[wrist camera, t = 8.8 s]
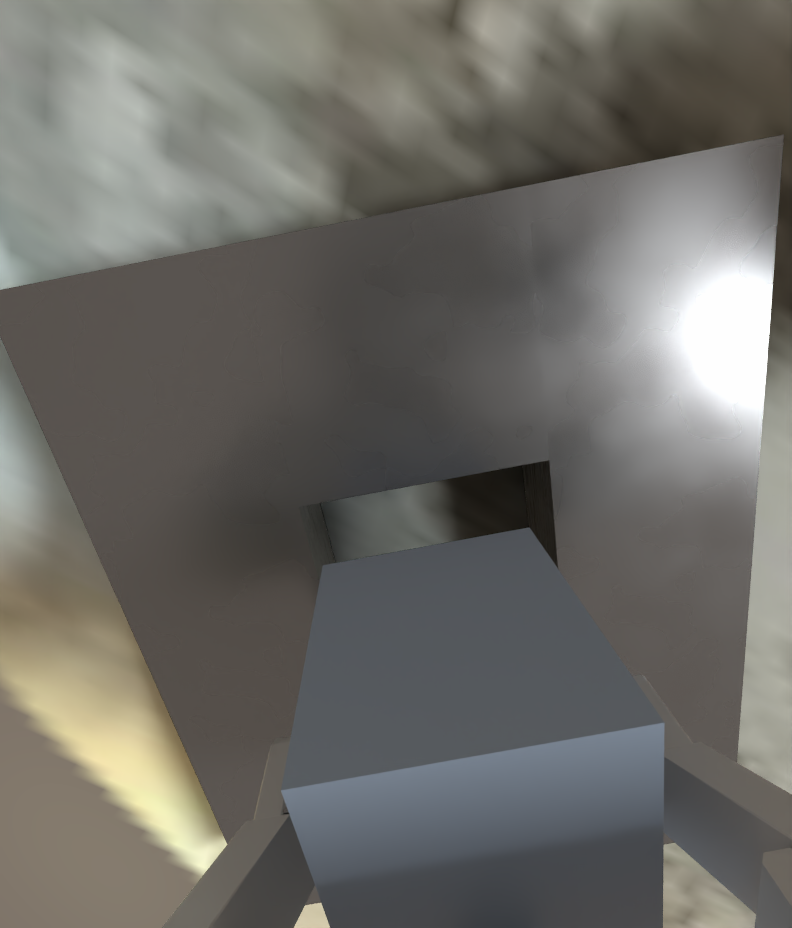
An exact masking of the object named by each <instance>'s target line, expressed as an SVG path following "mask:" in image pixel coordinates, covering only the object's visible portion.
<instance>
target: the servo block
mask: <svg viewBox="0 0 792 928" xmlns="http://www.w3.org/2000/svg"><path fill="white" fill-rule="evenodd" d="M281 792H282V795H283V798H284V801H285V803H286V806H287V809H288V812H289V814H290V817H291V820H292V823H293V826H294V828H295V831H296V834H297V837H298V839H299V842H300V845H301V848H302V850H303V853H304V856H305V859H306V861H307V864H308V867H309V870H310V872H311V875H312V878H313V881H314V884H315V886H316V889H317V892H318V895H319V897H320V900H321V903H322V906H323V908H324V911H325V914H326V917H327V919H328V922H329V925H330V928H663V834H664V721H663V720H662V718H661V717H660V715H659V714H658V713H657V711H656V710H655V708H654V707H653V705H652V704H651V702H650V701H649V700H648V698H647V697H646V695H645V694H644V692H643V691H642V689H641V688H640V687H639V685H638V684H637V682H636V681H635V679H634V678H633V676H632V675H631V674H630V672H629V671H628V669H627V668H626V666H625V665H624V663H623V662H622V661H621V659H620V658H619V656H618V655H617V653H616V652H615V650H614V649H613V647H612V646H611V645H610V643H609V642H608V640H607V639H606V637H605V636H604V634H603V633H602V632H601V630H600V629H599V627H598V626H597V624H596V623H595V621H594V620H593V619H592V617H591V616H590V614H589V613H588V611H587V610H586V608H585V607H584V606H583V604H582V603H581V601H580V600H579V598H578V597H577V595H576V594H575V593H574V591H573V590H572V588H571V587H570V585H569V584H568V582H567V581H566V580H565V578H564V577H563V575H562V574H561V572H560V571H559V569H558V568H557V567H556V565H555V564H554V562H553V561H552V559H551V558H550V556H549V555H548V553H547V552H546V551H545V549H544V548H543V546H542V545H541V543H540V542H539V540H538V539H537V538H536V536H535V535H534V533H533V532H532V530H531V529H530V527H529V528H523V529H518V530H512V531H507V532H502V533H496V534H491V535H485V536H480V537H474V538H469V539H463V540H458V541H452V542H447V543H442V544H436V545H431V546H425V547H420V548H414V549H409V550H403V551H398V552H392V553H387V554H382V555H376V556H371V557H365V558H360V559H354V560H349V561H343V562H338V563H332V564H327V565H323V566H322V571H321V577H320V582H319V588H318V593H317V598H316V604H315V609H314V614H313V620H312V625H311V631H310V636H309V641H308V647H307V652H306V658H305V663H304V668H303V674H302V679H301V685H300V690H299V695H298V701H297V706H296V712H295V717H294V722H293V728H292V733H291V738H290V744H289V749H288V755H287V760H286V765H285V771H284V776H283V782H282V787H281Z"/></svg>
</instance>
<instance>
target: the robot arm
mask: <svg viewBox="0 0 792 928" xmlns="http://www.w3.org/2000/svg"><path fill="white" fill-rule="evenodd" d="M633 678H634V679H635V681H636V682H637V684H638V685H639V687H640V688H641V689H642V691H643V692H644V694H645V695H646V697H647V698H648V700H649V701H650V702H651V704H652V705H653V707H654V708H655V710H656V711H657V713H658V714H659V715H660V717H661V718H662V720H663V721H664V833H665V834H666V835H667V836H668V837H669V838H670V839H672V840H673V841H674V842H675V843H676V844H677V845H678V846H680V847H681V848H682V849H683V850H684V851H685V852H686V853H687V854H689V855H690V856H691V857H692V858H693V859H694V860H695V861H697V862H698V863H699V864H700V865H701V866H702V867H703V868H704V869H706V870H707V871H708V872H709V873H710V874H711V875H712V876H714V877H715V878H716V879H717V880H718V881H719V882H720V883H721V884H723V885H724V886H725V887H726V888H727V889H728V890H729V891H730V892H732V893H733V894H734V895H735V896H736V897H737V898H738V899H740V900H741V901H742V902H743V903H744V904H745V905H746V906H747V907H749V908H750V909H751V910H752V911H753V912H754V913H755V914H756V921H755V928H792V795H791V794H790V793H788V792H786V791H785V790H783V789H781V788H779V787H778V786H776V785H774V784H773V783H771V782H769V781H767V780H766V779H764V778H762V777H760V776H759V775H757V774H755V773H754V772H752V771H750V770H748V769H747V768H745V767H743V766H741V765H740V764H738V763H736V762H735V761H733V760H731V759H729V758H728V757H726V756H724V755H723V754H721V753H719V752H717V751H716V750H714V749H712V748H710V747H709V746H707V745H705V744H704V743H702V742H697V743H693V742H692V741H691V740H690V738H689V737H688V736H687V734H686V733H685V731H684V730H683V729H682V727H681V726H680V725H679V723H678V722H677V720H676V719H675V718H674V716H673V715H672V714H671V712H670V711H669V709H668V708H667V707H666V705H665V704H664V703H663V701H662V700H661V699H660V697H659V696H658V694H657V693H656V692H655V690H654V689H653V688H652V686H651V685H650V683H649V682H648V681H647V679H646V678H645V677H643V676H642V675H636V676H633ZM290 738H291V737H284V738H278V739H275V740H274V741H273V743H272V745H271V747H270V751H269V755H268V759H267V763H266V768H265V772H264V776H263V781H262V785H261V789H260V794H259V798H258V802H257V806H256V811H255V815H254V819H253V820H249V821H246V822H245V823H244V824H243V826H242V827H241V828H240V829H239V831H238V832H237V833H236V834H235V836H234V837H233V838H232V839H231V841H230V842H229V843H228V845H227V846H226V847H225V848H224V850H223V851H222V852H221V853H220V855H219V856H218V857H217V858H216V860H215V861H214V862H213V864H212V865H211V866H210V867H209V869H208V870H207V871H206V872H205V874H204V875H203V876H202V878H201V879H200V880H199V881H198V883H197V884H196V885H195V886H194V888H193V889H192V890H191V891H190V893H189V894H188V895H187V897H186V898H185V899H184V900H183V902H182V903H181V904H180V905H179V907H178V908H177V909H176V911H175V912H174V913H173V914H172V916H171V917H170V918H169V919H168V921H167V922H166V923H165V924H164V926H163V927H162V928H294V926H295V924H296V922H297V920H298V918H299V916H300V914H301V912H302V910H303V908H304V906H305V904H306V902H307V900H308V898H309V896H310V894H311V892H312V890H313V888H314V886H315V884H314V881H313V878H312V875H311V872H310V870H309V867H308V864H307V861H306V859H305V856H304V853H303V850H302V848H301V845H300V842H299V839H298V837H297V834H296V831H295V828H294V826H293V823H292V820H291V817H290V814H289V812H288V809H287V806H286V803H285V801H284V798H283V795H282V792H281V787H282V782H283V776H284V771H285V765H286V760H287V755H288V749H289V744H290Z"/></svg>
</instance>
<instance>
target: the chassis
mask: <svg viewBox="0 0 792 928" xmlns="http://www.w3.org/2000/svg"><path fill="white" fill-rule="evenodd" d="M783 142H784V135H778V136H773V137H768V138H763V139H758V140H753V141H748V142H743V143H738V144H733V145H728V146H723V147H718V148H713V149H708V150H703V151H698V152H693V153H688V154H683V155H678V156H673V157H668V158H663V159H658V160H653V161H648V162H643V163H638V164H633V165H627V166H622V167H617V168H612V169H607V170H602V171H597V172H592V173H587V174H582V175H577V176H572V177H567V178H562V179H557V180H552V181H547V182H542V183H537V184H532V185H527V186H522V187H517V188H512V189H507V190H502V191H497V192H492V193H487V194H482V195H476V196H471V197H466V198H461V199H456V200H451V201H446V202H441V203H436V204H431V205H426V206H421V207H416V208H411V209H406V210H401V211H396V212H391V213H386V214H381V215H376V216H371V217H366V218H361V219H356V220H351V221H346V222H341V223H336V224H331V225H325V226H320V227H315V228H310V229H305V230H300V231H295V232H290V233H285V234H280V235H275V236H270V237H265V238H260V239H255V240H250V241H245V242H240V243H235V244H230V245H225V246H220V247H215V248H210V249H205V250H200V251H195V252H190V253H185V254H180V255H174V256H169V257H164V258H159V259H154V260H149V261H144V262H139V263H134V264H129V265H124V266H119V267H114V268H109V269H104V270H99V271H94V272H89V273H84V274H79V275H74V276H69V277H64V278H59V279H54V280H49V281H44V282H39V283H34V284H29V285H23V286H18V287H13V288H8V289H3V290H0V337H1V339H2V341H3V343H4V346H5V348H6V350H7V352H8V355H9V357H10V359H11V361H12V363H13V366H14V368H15V370H16V372H17V375H18V377H19V379H20V381H21V384H22V386H23V388H24V390H25V393H26V395H27V397H28V399H29V402H30V404H31V406H32V408H33V410H34V413H35V415H36V417H37V419H38V422H39V424H40V426H41V428H42V431H43V433H44V435H45V437H46V440H47V442H48V444H49V446H50V448H51V451H52V453H53V455H54V457H55V460H56V462H57V464H58V466H59V469H60V471H61V473H62V475H63V478H64V480H65V482H66V484H67V486H68V489H69V491H70V493H71V495H72V498H73V500H74V502H75V504H76V507H77V509H78V511H79V513H80V516H81V518H82V520H83V522H84V524H85V527H86V529H87V531H88V533H89V536H90V538H91V540H92V542H93V545H94V547H95V549H96V551H97V554H98V556H99V558H100V560H101V563H102V565H103V567H104V569H105V571H106V574H107V576H108V578H109V580H110V583H111V585H112V587H113V589H114V592H115V594H116V596H117V598H118V601H119V603H120V605H121V607H122V609H123V612H124V614H125V616H126V618H127V621H128V623H129V625H130V627H131V630H132V632H133V634H134V636H135V639H136V641H137V643H138V645H139V647H140V650H141V652H142V654H143V656H144V659H145V661H146V663H147V665H148V668H149V670H150V672H151V674H152V677H153V679H154V681H155V683H156V685H157V688H158V690H159V692H160V694H161V697H162V699H163V701H164V703H165V706H166V708H167V710H168V712H169V715H170V717H171V719H172V721H173V724H174V726H175V728H176V730H177V732H178V735H179V737H180V739H181V741H182V744H183V746H184V748H185V750H186V753H187V755H188V757H189V759H190V762H191V764H192V766H193V768H194V770H195V773H196V775H197V777H198V779H199V782H200V784H201V786H202V788H203V791H204V793H205V795H206V797H207V800H208V802H209V804H210V806H211V808H212V811H213V813H214V815H215V817H216V820H217V822H218V824H219V826H220V829H221V831H222V833H223V835H224V838H225V840H226V842H227V844H228V843H229V842H230V841H231V839H232V838H233V837H234V836H235V834H236V833H237V832H238V831H239V829H240V828H241V827H242V826H243V824H244V823H245V822H246V821H249V820H253V819H254V815H255V811H256V806H257V802H258V798H259V794H260V789H261V785H262V781H263V776H264V772H265V768H266V763H267V759H268V755H269V751H270V747H271V745H272V743H273V741H274V740H275V739H278V738H284V737H291V733H292V728H293V722H294V717H295V712H296V706H297V701H298V695H299V690H300V685H301V679H302V674H303V668H304V663H305V658H306V652H307V647H308V641H309V636H310V631H311V625H312V620H313V614H314V609H315V604H316V598H317V593H318V588H319V582H320V577H321V571H322V566H323V565H327V564H332V563H335V559H334V555H333V551H332V547H331V543H330V540H329V536H328V532H327V528H326V524H325V520H324V516H323V513H322V509H321V505H320V503H322V502H327V501H333V500H338V499H344V498H349V497H354V496H360V495H365V494H370V493H376V492H381V491H386V490H392V489H397V488H403V487H408V486H413V485H419V484H424V483H429V482H435V481H440V480H445V479H451V478H456V477H461V476H467V475H472V474H478V473H483V472H488V471H494V470H499V469H504V468H510V467H515V466H520V465H522V466H523V476H524V486H525V496H526V506H527V516H528V526H529V527H530V529H531V530H532V532H533V533H534V535H535V536H536V538H537V539H538V540H539V542H540V543H541V545H542V546H543V548H544V549H545V551H546V552H547V553H548V555H549V556H550V558H551V559H552V561H553V562H554V564H555V565H556V567H557V568H558V569H559V571H560V572H561V574H562V575H563V577H564V578H565V580H566V581H567V582H568V584H569V585H570V587H571V588H572V590H573V591H574V593H575V594H576V595H577V597H578V598H579V600H580V601H581V603H582V604H583V606H584V607H585V608H586V610H587V611H588V613H589V614H590V616H591V617H592V619H593V620H594V621H595V623H596V624H597V626H598V627H599V629H600V630H601V632H602V633H603V634H604V636H605V637H606V639H607V640H608V642H609V643H610V645H611V646H612V647H613V649H614V650H615V652H616V653H617V655H618V656H619V658H620V659H621V661H622V662H623V663H624V665H625V666H626V668H627V669H628V671H629V672H630V674H631V675H632V676H636V675H642V676H643V677H645V678H646V679H647V681H648V682H649V683H650V685H651V686H652V688H653V689H654V690H655V692H656V693H657V694H658V696H659V697H660V699H661V700H662V701H663V703H664V704H665V705H666V707H667V708H668V709H669V711H670V712H671V714H672V715H673V716H674V718H675V719H676V720H677V722H678V723H679V725H680V726H681V727H682V729H683V730H684V731H685V733H686V734H687V736H688V737H689V738H690V740H691V741H692V742H693V743H697V742H702V743H704V744H705V745H707V746H709V747H710V748H712V749H714V750H716V751H717V752H719V753H721V754H723V755H724V756H726V757H728V758H729V759H731V760H733V761H735V762H736V763H737V753H738V740H739V726H740V713H741V700H742V687H743V673H744V660H745V647H746V633H747V620H748V607H749V594H750V580H751V567H752V554H753V541H754V527H755V514H756V501H757V487H758V474H759V461H760V448H761V434H762V421H763V408H764V395H765V381H766V368H767V355H768V341H769V328H770V315H771V302H772V288H773V275H774V262H775V249H776V235H777V222H778V209H779V195H780V182H781V169H782V156H783ZM669 843H675V842H674V841H673V840H672V839H670V838H669V837H668V836H667V835H666V834H665V833H664V834H663V844H669ZM320 902H321V900H320V897H319V895H318V892H317V889H316V886H314V888H313V890H312V892H311V894H310V896H309V898H308V900H307V902H306V904H305V905H309V904H314V903H320Z"/></svg>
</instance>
